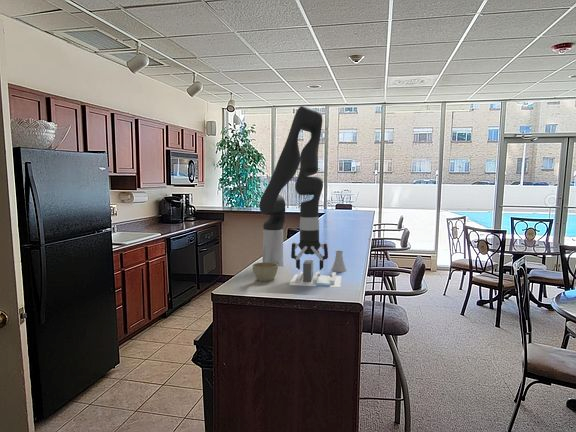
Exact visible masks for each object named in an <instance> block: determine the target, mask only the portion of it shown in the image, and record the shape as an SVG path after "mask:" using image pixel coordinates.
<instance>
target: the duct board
mask: <svg viewBox="0 0 576 432" xmlns="http://www.w3.org/2000/svg"><path fill="white" fill-rule="evenodd" d="M341 283H342V275H337V272H334V271H332V272H331V273H330V275H323V274H321V272H320V271H316V272H315V274H313V278H312V281H311V282H303V270H299V273H297V274H296V273H295V274H294V275H293V277H292V279H291V280H290V282H289V283H288V286H304V287H305V286H306V287H307V286H308V287H324V288H325V287H326V288H327V287H328V288H331V287H332V288H341Z"/></svg>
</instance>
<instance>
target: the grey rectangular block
mask: <svg viewBox="0 0 576 432" xmlns="http://www.w3.org/2000/svg"><path fill="white" fill-rule="evenodd" d="M302 271H303V282H311V281H312V278H313V275H314V259H313V258H311V259H310V258H305V260H304V262H303V264H302Z"/></svg>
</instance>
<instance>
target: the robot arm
mask: <svg viewBox="0 0 576 432" xmlns="http://www.w3.org/2000/svg"><path fill="white" fill-rule="evenodd" d="M292 119H293V120H292V123H291V127H290V129H289V133H288V136H287V138H286V140H285V144H284V146H283V148H282V151H281V153H280V155H279V158H278V160H277V163H276V166H275V169H274V171H273V173H272V176H271V178H270V180H269V183H268V184H267V187H266V188H265V190H264V192H263V194H262V195H261V197H260V200H259V204H258V205H259V212H261V213H260V214H262V215H265V216H269V218H268V219H267V220H266V221H264V223H263V225H262V227H263V229H262V230H263V232H262V233H263V234H262V235H263V245H262V248H261V249H262V252H261V254H262V262H270V263H276V264H278V267H283V266H284V224H285V222H286V201H285V199H284V197H283V196H282V195H281V194H280V193H281V191H282V190H283V188H284V187H286V185H287V184H288V183H290V182H291V180H292V179H293V178H294V177H295V175H296V173H297V170H298V169H299V172H298V176H297V179H296V181H295V187H294V189H295V191H296V193H297V194H298V195H299V196H313V197H312V198H311V199H309V200H306V201H302V202H301V203H300V207H299V210H300V213H299V215H300V216H299V243H298V242H297V243H296V242H292V243H291V253H290V254H291V255H290V258H291V259H294V260H295V268H296V269H297V271H301V257H302V256H303V255H304V254H305V255H315V256H316V257H317V258H318V259H319V270H320V271H322V269H323V268H324V261H325V260H328V259H329V249H328V248H329V247H328V243H327V242H324V243H320V219H319V208H320V207H319V204H320V199H321V196H322V192H323V188H324V182H323V179H322V178H321V177H320V176H314V175H316V174H317V173H318V172H319V148H320V141H321V136H322V127H323V115H322V113H321V112H320V111H319V110H316V109H313V108H310V107H306V106H303V105H302V106H300V107H298V108H297V111H296V112H295V114H294V117H293V118H292ZM300 131H305V132H307V133H310V139H309V141H307V143H306V144H305V145H304V147H303V148H302V150H301V152H300V147H299V135H300ZM312 175H313V176H312ZM298 248H299V249H300V250H301V251H300V252H299V253H298V254H297V255H296V249H298ZM320 248H322V249H323V254H324V255H322V254H321V252H320V251H319V249H320Z"/></svg>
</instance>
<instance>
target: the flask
mask: <svg viewBox="0 0 576 432" xmlns="http://www.w3.org/2000/svg"><path fill="white" fill-rule="evenodd" d="M334 252H335V257H334V261H333V264H332V267H331V269H330V270H331V271H332V272H336V273H344V272H347V270H348V269H347V268H346V264H345V261H344V257H343V253H344V250H339V249H337V250H335V251H334Z"/></svg>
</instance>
